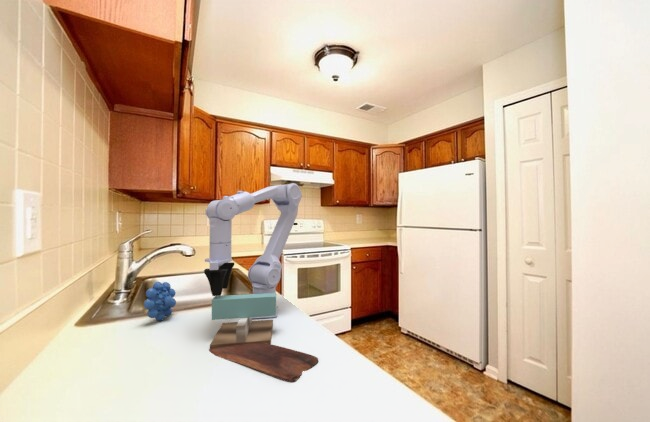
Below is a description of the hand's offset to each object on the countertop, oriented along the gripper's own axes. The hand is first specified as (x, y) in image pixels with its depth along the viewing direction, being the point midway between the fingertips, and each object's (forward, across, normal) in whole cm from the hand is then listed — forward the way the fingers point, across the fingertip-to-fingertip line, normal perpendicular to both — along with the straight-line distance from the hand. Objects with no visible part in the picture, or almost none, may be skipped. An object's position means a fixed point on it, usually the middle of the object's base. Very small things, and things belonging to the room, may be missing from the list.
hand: (220, 291), depth 75 cm
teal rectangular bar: (+5, +4, +7) cm, 10 cm away
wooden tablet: (+11, +16, +12) cm, 23 cm away
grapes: (+11, -10, -19) cm, 24 cm away
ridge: (+10, +4, +7) cm, 13 cm away
